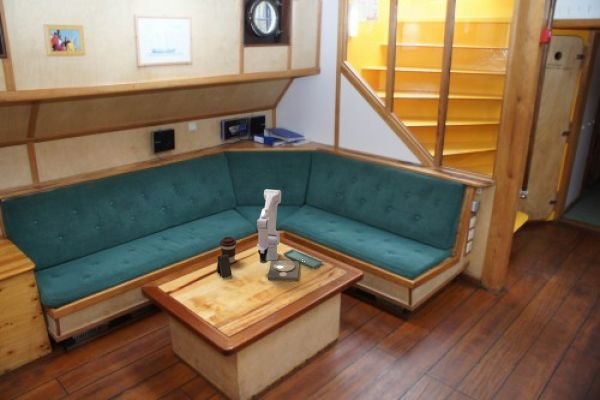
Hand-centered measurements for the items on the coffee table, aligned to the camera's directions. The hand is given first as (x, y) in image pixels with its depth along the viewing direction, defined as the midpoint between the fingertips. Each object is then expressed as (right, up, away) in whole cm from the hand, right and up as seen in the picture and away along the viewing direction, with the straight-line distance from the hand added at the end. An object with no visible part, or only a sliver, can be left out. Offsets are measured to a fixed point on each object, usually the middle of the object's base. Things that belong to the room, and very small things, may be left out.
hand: (263, 258), depth 287 cm
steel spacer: (0, -2, +1) cm, 2 cm away
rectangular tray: (+23, -4, +19) cm, 30 cm away
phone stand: (-23, -9, +1) cm, 25 cm away
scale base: (+12, -8, +4) cm, 15 cm away
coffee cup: (-23, -3, +16) cm, 28 cm away
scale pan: (+12, -5, +5) cm, 14 cm away
